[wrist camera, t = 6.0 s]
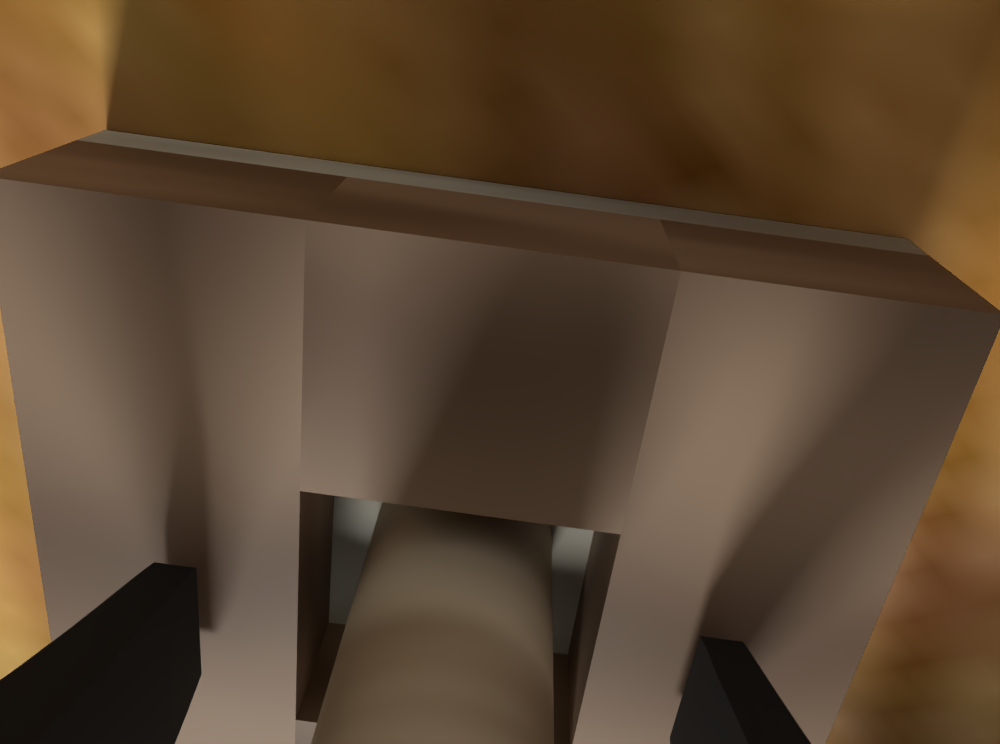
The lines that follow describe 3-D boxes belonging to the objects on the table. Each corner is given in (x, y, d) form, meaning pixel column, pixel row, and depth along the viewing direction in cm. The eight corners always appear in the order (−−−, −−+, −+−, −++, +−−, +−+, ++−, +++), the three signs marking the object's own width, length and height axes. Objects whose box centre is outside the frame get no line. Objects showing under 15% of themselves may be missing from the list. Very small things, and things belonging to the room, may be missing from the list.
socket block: (717, 783, 18) (746, 931, 15) (153, 708, 18) (81, 841, 15) (907, 239, 12) (1005, 315, 10) (104, 130, 12) (-20, 175, 10)
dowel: (540, 614, 15) (536, 1090, 9) (373, 595, 15) (248, 1059, 9) (562, 475, 14) (577, 921, 7) (379, 454, 14) (237, 882, 7)
